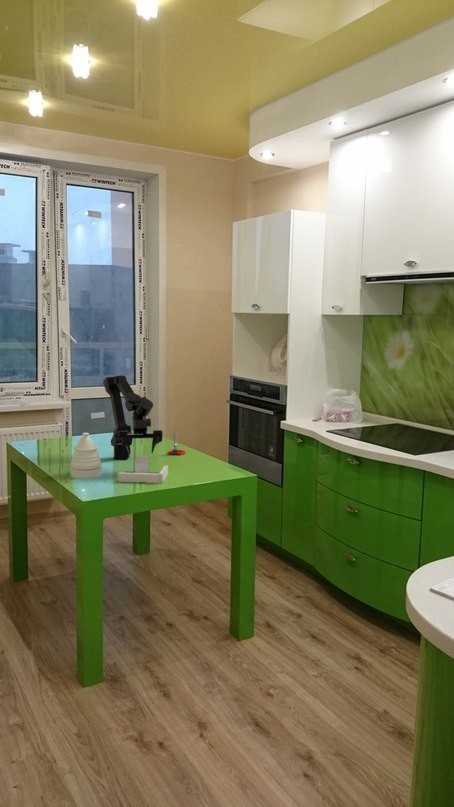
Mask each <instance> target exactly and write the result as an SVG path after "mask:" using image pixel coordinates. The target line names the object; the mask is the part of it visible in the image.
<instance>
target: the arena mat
mask: <svg viewBox="0 0 454 807" xmlns="http://www.w3.org/2000/svg"><path fill="white" fill-rule="evenodd" d="M124 473H135V470H134V471H133V470H132V471H129V470H126V471H125V472H124ZM149 473H152V474H159V473H160V471H159V472H158V471H157V472H156V471H149Z"/></svg>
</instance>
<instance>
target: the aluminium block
mask: <svg viewBox="0 0 454 807" xmlns="http://www.w3.org/2000/svg"><path fill="white" fill-rule="evenodd" d="M149 459H150V458H149V455H148V454H147V455H134V472H135V473H149V472H150V471H149V467H150V466H149V462H150V461H149Z"/></svg>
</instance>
